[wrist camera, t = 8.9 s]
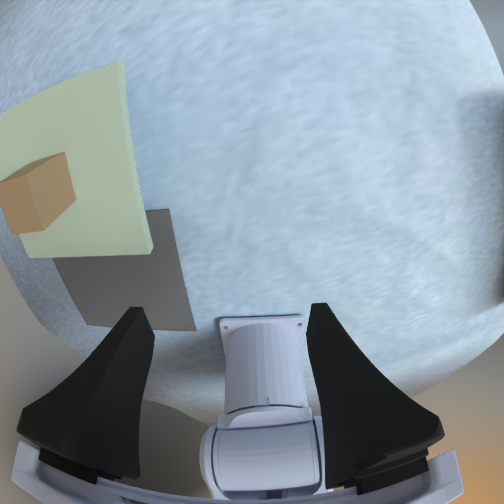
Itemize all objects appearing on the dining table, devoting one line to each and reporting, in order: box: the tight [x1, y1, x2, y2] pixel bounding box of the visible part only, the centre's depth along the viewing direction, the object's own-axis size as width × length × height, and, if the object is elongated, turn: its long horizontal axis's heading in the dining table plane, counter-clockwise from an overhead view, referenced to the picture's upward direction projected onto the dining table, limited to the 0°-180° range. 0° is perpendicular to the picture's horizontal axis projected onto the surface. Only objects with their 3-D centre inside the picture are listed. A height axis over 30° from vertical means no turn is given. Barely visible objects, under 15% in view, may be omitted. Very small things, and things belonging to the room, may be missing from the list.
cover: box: [0, 62, 154, 258], centre depth 11 cm, size 11×11×4 cm
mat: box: [53, 209, 196, 331], centre depth 22 cm, size 13×13×1 cm
